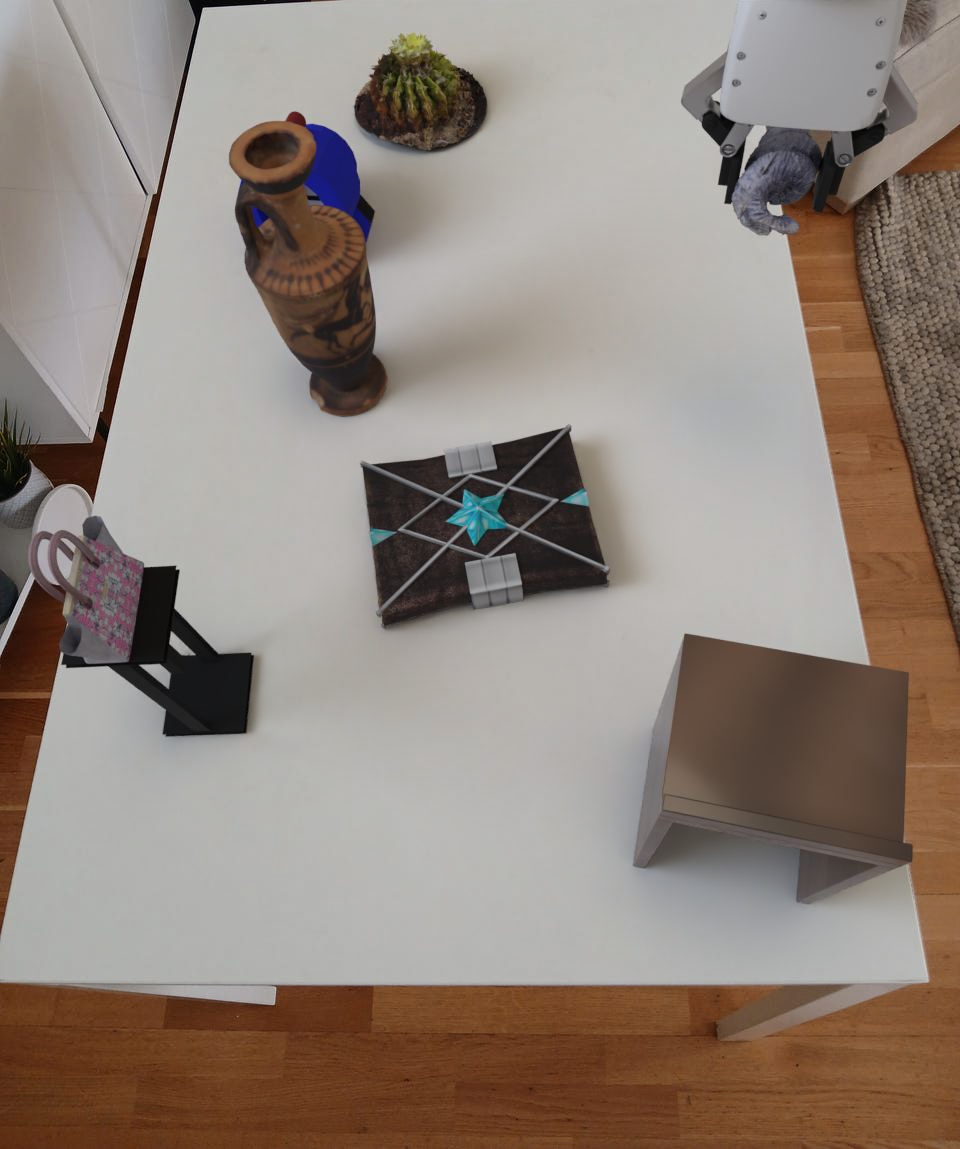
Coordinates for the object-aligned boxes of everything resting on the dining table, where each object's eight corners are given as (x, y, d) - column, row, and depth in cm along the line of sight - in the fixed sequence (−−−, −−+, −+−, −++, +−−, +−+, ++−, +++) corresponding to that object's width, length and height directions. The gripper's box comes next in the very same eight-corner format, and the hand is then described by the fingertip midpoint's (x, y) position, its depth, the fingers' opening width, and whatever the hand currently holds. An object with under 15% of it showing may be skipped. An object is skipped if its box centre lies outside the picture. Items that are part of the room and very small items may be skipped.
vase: (407, 347, 99) (350, 101, 72) (390, 429, 95) (324, 200, 68) (311, 342, 101) (220, 99, 74) (290, 423, 96) (186, 195, 69)
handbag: (244, 748, 81) (88, 619, 54) (163, 751, 82) (-32, 625, 55) (255, 639, 86) (115, 470, 59) (178, 642, 86) (4, 476, 59)
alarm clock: (256, 267, 106) (212, 159, 93) (282, 191, 111) (244, 79, 98) (357, 274, 105) (327, 165, 91) (379, 196, 110) (353, 82, 96)
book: (383, 631, 85) (373, 610, 81) (363, 480, 92) (353, 453, 88) (610, 588, 85) (613, 565, 81) (572, 441, 93) (573, 412, 88)
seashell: (764, 262, 67) (783, 170, 71) (825, 222, 62) (841, 127, 66) (712, 218, 65) (735, 126, 69) (772, 173, 60) (792, 78, 64)
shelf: (819, 758, 77) (918, 663, 56) (808, 904, 72) (913, 862, 51) (653, 726, 79) (687, 623, 58) (632, 866, 74) (661, 810, 53)
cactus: (508, 85, 116) (504, 10, 108) (454, 168, 111) (445, 96, 102) (390, 56, 121) (377, -19, 112) (332, 135, 115) (313, 63, 106)
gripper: (1002, -100, 51) (898, 169, 67) (692, -110, 54) (664, 150, 70) (1003, -18, 48) (894, 244, 64) (675, -33, 51) (650, 220, 67)
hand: (774, 192), depth 67 cm, fingers closed on seashell, 5 cm apart
